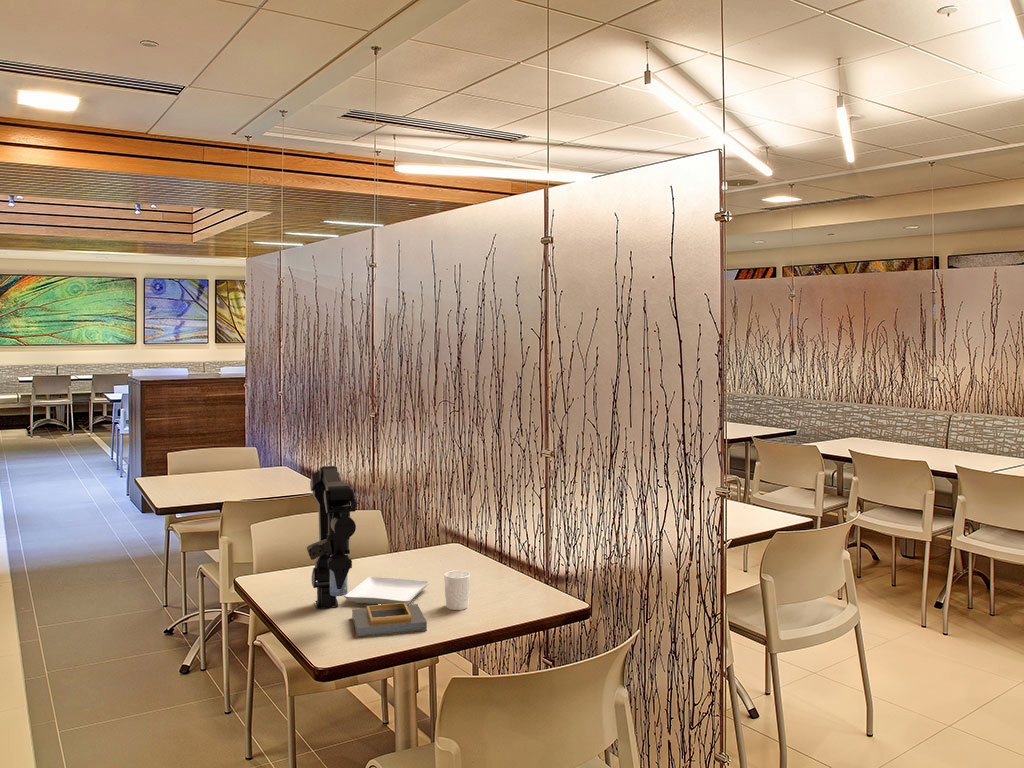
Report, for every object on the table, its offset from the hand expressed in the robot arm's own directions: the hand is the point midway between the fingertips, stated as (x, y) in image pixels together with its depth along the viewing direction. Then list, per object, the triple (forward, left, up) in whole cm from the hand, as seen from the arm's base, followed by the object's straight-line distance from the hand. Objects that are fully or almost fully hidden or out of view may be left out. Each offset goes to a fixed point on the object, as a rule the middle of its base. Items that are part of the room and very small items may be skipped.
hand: (338, 586), depth 215 cm
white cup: (-10, +36, -12) cm, 39 cm away
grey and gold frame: (0, +14, -12) cm, 18 cm away
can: (0, 0, -2) cm, 2 cm away
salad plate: (-25, +17, -13) cm, 33 cm away
